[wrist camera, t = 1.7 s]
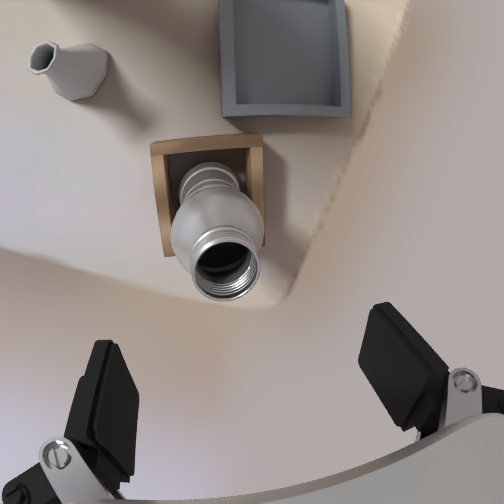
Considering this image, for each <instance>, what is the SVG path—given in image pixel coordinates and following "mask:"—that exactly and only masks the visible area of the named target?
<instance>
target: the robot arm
mask: <svg viewBox="0 0 504 504" xmlns="http://www.w3.org/2000/svg"><path fill="white" fill-rule="evenodd" d="M358 363H359V366H360V368H361V369H362V371H363V373H364V374H365V376H366V377H367V379H368V381H369V382H370V384H371V385H372V387H373V389H374V390H375V392H376V393H377V395H378V397H379V398H380V400H381V402H382V403H383V405H384V406H385V408H386V410H387V411H388V413H389V415H390V416H391V418H392V420H393V421H394V423H395V424H396V426H399V427H401V429H402V430H403V432H404V431H406V430H408V429H410V428H413V427H414V426H415V427H416V429H417V435H416V440H415V443H413V444H411V445H408V446H406V447H404V448H402V449H400V450H398V451H396V452H393V453H391V454H388V455H386V456H384V457H381V458H379V459H376V460H374V461H371V462H369V463H366V464H363V465H361V466H358V467H355V468H352V469H349V470H346V471H344V472H340V473H337V474H334V475H331V476H327V477H324V478H321V479H317V480H313V481H310V482H306V483H302V484H298V485H294V486H289V487H285V488H280V489H275V490H270V491H264V492H259V493H252V494H246V495H238V496H231V497H221V498H210V499H194V500H127V499H126V498H125V497H124V496H123V495H122V493H121V492H120V491H119V490H118V489H120V482H128V483H129V482H130V476H133V475H134V469H135V468H134V467H135V448H136V432H137V419H138V408H139V393H138V390H137V388H136V386H135V384H134V381H133V379H132V377H131V375H130V372H129V370H128V368H127V365H126V363H125V360H124V358H123V356H122V354H121V351H120V348H119V346H118V344H114V343H113V341H112V340H97V341H96V342H95V344H94V347H93V350H92V353H91V356H90V359H89V362H88V365H87V368H86V372H85V375H84V376H82V377H81V378H80V379H79V382H78V385H77V388H76V392H75V395H74V399H73V402H72V406H71V410H70V413H69V417H68V421H67V425H66V429H65V433H64V438H63V437H53V438H50V439H48V440H47V441H45V442H44V443H43V445H42V446H41V448H40V451H39V461H40V462H39V463H37V464H36V465H34V466H33V467H31V468H30V469H28V470H27V471H25V472H24V473H22V474H20V475H19V476H18V477H16V478H14V479H12V480H11V481H9V482H8V483H7V484H6V485H5V486H4V488H3V491H2V500H3V503H2V504H504V390H501V389H496V388H491V387H487V386H482V385H481V382H480V379H479V377H478V375H477V374H476V373H475V372H473V371H472V370H470V369H467V368H457V369H454V370H453V371H452V372H451V373H450V372H449V371H448V369H449V367H448V366H447V365H446V364H445V362H444V361H443V360H442V359H441V358H440V357H439V356H438V354H437V353H436V352H435V351H434V350H433V349H432V348H431V346H430V345H429V344H428V343H427V342H426V341H425V340H424V339H423V338H422V336H420V334H419V333H418V332H417V331H416V330H415V329H414V328H413V327H412V326H411V325H410V323H409V322H408V321H407V320H406V319H405V318H404V317H403V316H402V315H401V314H400V313H399V312H398V311H397V310H396V309H395V308H394V306H393V305H392V304H391V303H389V302H384V303H380V304H376V305H374V306H373V309H371V310H370V312H369V317H368V321H367V326H366V330H365V334H364V338H363V342H362V346H361V350H360V354H359V358H358Z"/></svg>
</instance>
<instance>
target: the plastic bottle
mask: <svg viewBox="0 0 504 504" xmlns="http://www.w3.org/2000/svg"><path fill="white" fill-rule="evenodd" d="M179 201H180V205H181V206H180V208H179V209H178V211H177V213H176V216H175V218H174V221H173V223H172V228H171V244H172V248H173V251H174V253H175V255H176V258H177V259H178V261H179V262H180V264H181V265H182V266H183V267H184V269H186V270H187V271H188V272H189V273H190V274H192V279H193V282H194V284H195V286H196V288H197V289H198V290H199V292H200V293H202V294H203V295H204V296H206V297H207V298H209V299H212V300H215V301H231V300H235V299H237V298H240V297H242V296H243V295H245V294H247V293H248V292H249V291H250V290H251V289H252V288H253V286H254V285H255V284H256V282H257V280H258V277H259V274H260V259H259V257H258V254H259V252H260V250H261V246H262V243H263V235H264V225H263V219H262V216H261V213H260V211H259V210H258V208H257V206H256V205H255V204H254V203H253V202H252V201H251V199H250V198H248V197H247V196H246V195H245V194H243V193H242V192H240V186H239V182H238V179H237V177H236V175H235V174H234V172H233V171H232V170H231V169H230V168H228V167H227V166H226V165H223V164H221V163H217V162H205V163H201V164H199V165H196V166H195V167H193V168H192V169H190V170H189V171H188V172H187V173H186V174H185V176H184V177H183V179H182V181H181V184H180V187H179Z"/></svg>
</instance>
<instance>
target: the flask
mask: <svg viewBox="0 0 504 504" xmlns="http://www.w3.org/2000/svg"><path fill="white" fill-rule="evenodd" d="M107 57H108V52H107V51H105V50H103V49H101V48H99V47H97V46H95V45H93V44H91V43H87V44H82V45H78V46H74V47H68V48H59V46H58V45H57V44H55V43H52V42H50V41H45V42H42V43H40V44H37V45H36V46H35V48H34V49H33V51H32V52H31V54H30V56H29V58H28V71H30V72H32V73H34V74H36V75H40V74H43V73H44V74H45V75H46V76H47V78H48V80H49V81H50V84H51V86H52V88H53V90H54V92H56V93H58V94H59V95H61V96H63V97H65V98H66V99H68V100H70V101H73V100H78V99H82V98H87V97H92V96H93V95H94V94H95V92H96V90H97V89H98V87H99V86H100V84H101V83H102V81H103V80H104V78H105V77H106V75H107Z"/></svg>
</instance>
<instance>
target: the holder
mask: <svg viewBox="0 0 504 504" xmlns="http://www.w3.org/2000/svg"><path fill="white" fill-rule="evenodd" d="M230 148H244V172H245V195H246V196H247V197H248V198H250V199H251V201H252V202H253V203H254V204H255V205H256V206H257V208H258V210H259V211H260V213H261V216H262V219H263V225H264V178H263V139H262V135H260V134H255V133H249V134H229V135H215V136H202V137H192V138H182V139H173V140H165V141H157V142H154V143H152V144H150V152H151V163H152V172H153V181H154V190H155V198H156V205H157V213H158V220H159V226H160V233H161V239H162V246H163V252H164V257H170V256H176V255H175V253H174V251H173V248H172V244H171V228H172V223H173V221H174V212H173V203H172V194H171V185H170V176H169V165H168V154H175V153H184V152H194V151H204V150H216V149H230ZM262 246H265V225H264V235H263V243H262ZM262 246H261V247H262Z"/></svg>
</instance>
